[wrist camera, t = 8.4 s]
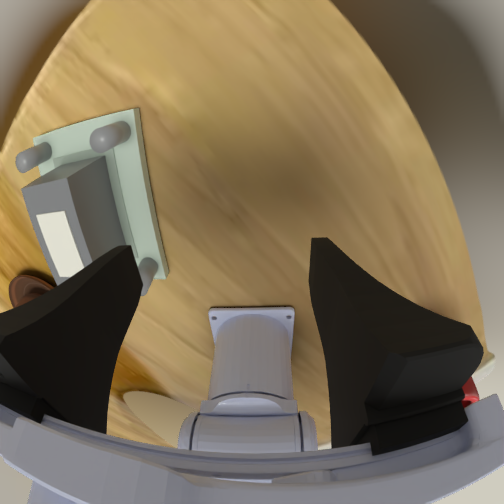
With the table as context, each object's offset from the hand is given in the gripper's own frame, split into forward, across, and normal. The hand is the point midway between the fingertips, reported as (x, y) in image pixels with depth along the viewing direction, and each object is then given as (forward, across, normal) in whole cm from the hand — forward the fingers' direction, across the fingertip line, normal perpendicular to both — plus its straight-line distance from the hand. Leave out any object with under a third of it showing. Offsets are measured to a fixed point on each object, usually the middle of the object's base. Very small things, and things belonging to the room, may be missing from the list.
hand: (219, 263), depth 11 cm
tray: (+10, +12, +1) cm, 16 cm away
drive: (+9, +12, +1) cm, 15 cm away
